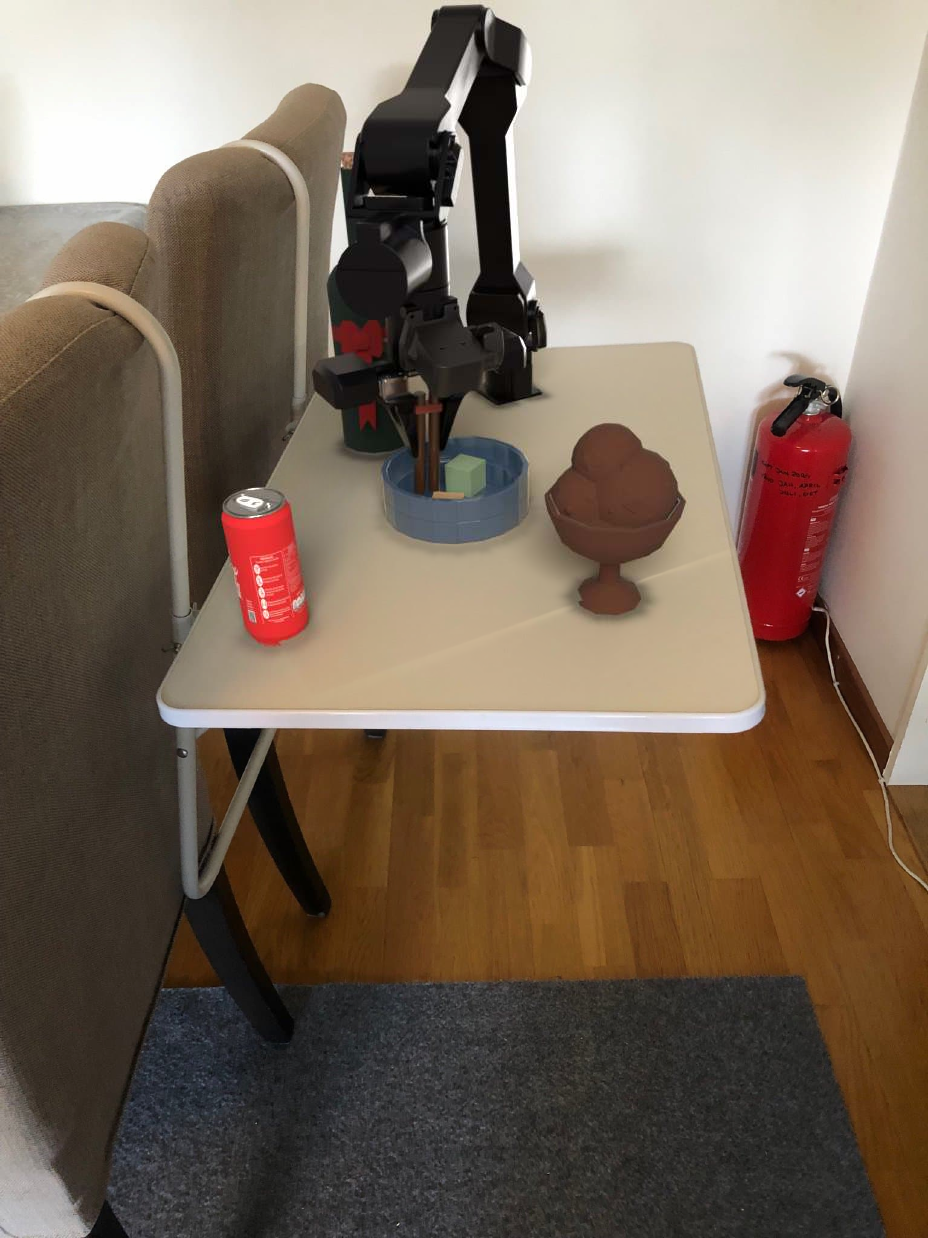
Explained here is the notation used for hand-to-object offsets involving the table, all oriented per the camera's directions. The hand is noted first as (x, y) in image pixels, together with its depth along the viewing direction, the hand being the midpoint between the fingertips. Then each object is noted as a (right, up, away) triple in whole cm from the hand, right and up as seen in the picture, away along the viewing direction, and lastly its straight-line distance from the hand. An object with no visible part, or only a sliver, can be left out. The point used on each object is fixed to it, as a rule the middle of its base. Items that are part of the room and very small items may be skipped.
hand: (427, 453), depth 86 cm
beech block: (+2, -7, +1) cm, 7 cm away
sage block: (+4, -2, +8) cm, 9 cm away
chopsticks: (0, -3, +2) cm, 4 cm away
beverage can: (-12, -17, -10) cm, 23 cm away
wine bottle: (-6, +4, +18) cm, 20 cm away
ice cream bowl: (+16, -14, -8) cm, 22 cm away
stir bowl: (+3, -5, +5) cm, 8 cm away
